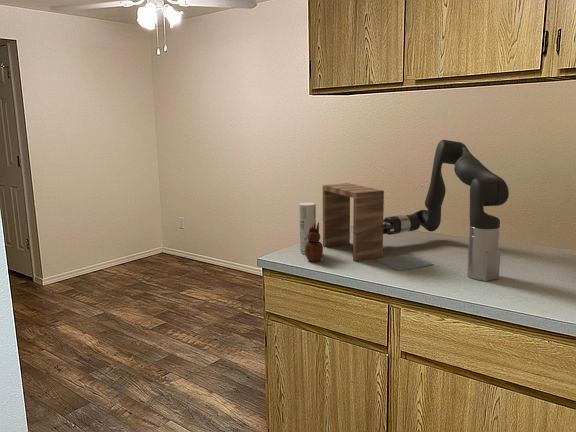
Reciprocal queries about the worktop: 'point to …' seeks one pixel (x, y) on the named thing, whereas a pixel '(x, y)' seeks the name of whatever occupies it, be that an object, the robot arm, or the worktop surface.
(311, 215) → the spray can
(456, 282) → the worktop surface
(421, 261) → the mat
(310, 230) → the wooden figurine
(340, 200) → the arch
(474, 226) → the robot arm
